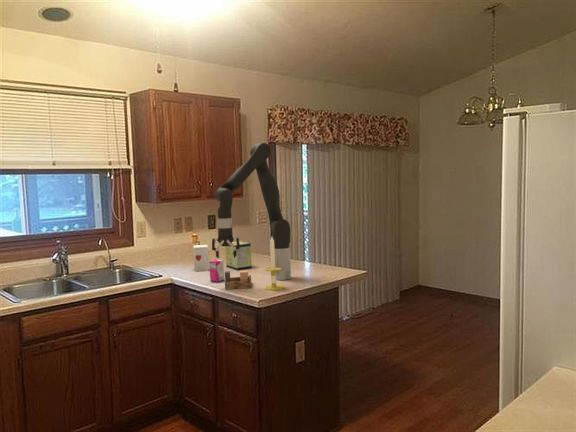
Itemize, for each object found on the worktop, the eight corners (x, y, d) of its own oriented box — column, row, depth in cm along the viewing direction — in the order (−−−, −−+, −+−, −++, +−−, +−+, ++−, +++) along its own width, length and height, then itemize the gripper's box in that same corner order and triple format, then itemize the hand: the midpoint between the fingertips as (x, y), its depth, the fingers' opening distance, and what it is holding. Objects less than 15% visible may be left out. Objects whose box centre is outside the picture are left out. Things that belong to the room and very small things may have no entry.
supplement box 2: (217, 279, 280) (216, 259, 279) (224, 280, 276) (223, 260, 275) (209, 281, 275) (208, 260, 274) (217, 282, 271) (216, 261, 270)
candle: (287, 287, 253) (285, 235, 250) (271, 291, 247) (268, 237, 245) (276, 284, 261) (274, 233, 258) (260, 287, 255) (258, 235, 253)
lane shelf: (251, 282, 267) (250, 274, 267) (250, 288, 255) (250, 279, 255) (227, 284, 267) (226, 275, 266) (225, 289, 255) (224, 280, 254)
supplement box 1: (194, 271, 305) (193, 247, 303) (194, 268, 313) (192, 245, 312) (209, 270, 306) (208, 246, 305) (208, 267, 315) (207, 244, 314)
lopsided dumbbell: (248, 281, 264) (247, 269, 263) (248, 283, 259) (247, 271, 258) (225, 282, 263) (225, 271, 263) (225, 284, 258) (224, 272, 258)
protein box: (240, 264, 321) (239, 240, 320) (252, 268, 308) (251, 243, 307) (225, 267, 315) (224, 242, 314) (237, 270, 302) (236, 245, 301)
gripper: (239, 225, 262) (240, 256, 264) (212, 226, 262) (213, 257, 263) (238, 227, 255) (239, 258, 256) (210, 228, 254) (211, 259, 256)
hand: (226, 257), depth 260 cm, fingers open, 8 cm apart
